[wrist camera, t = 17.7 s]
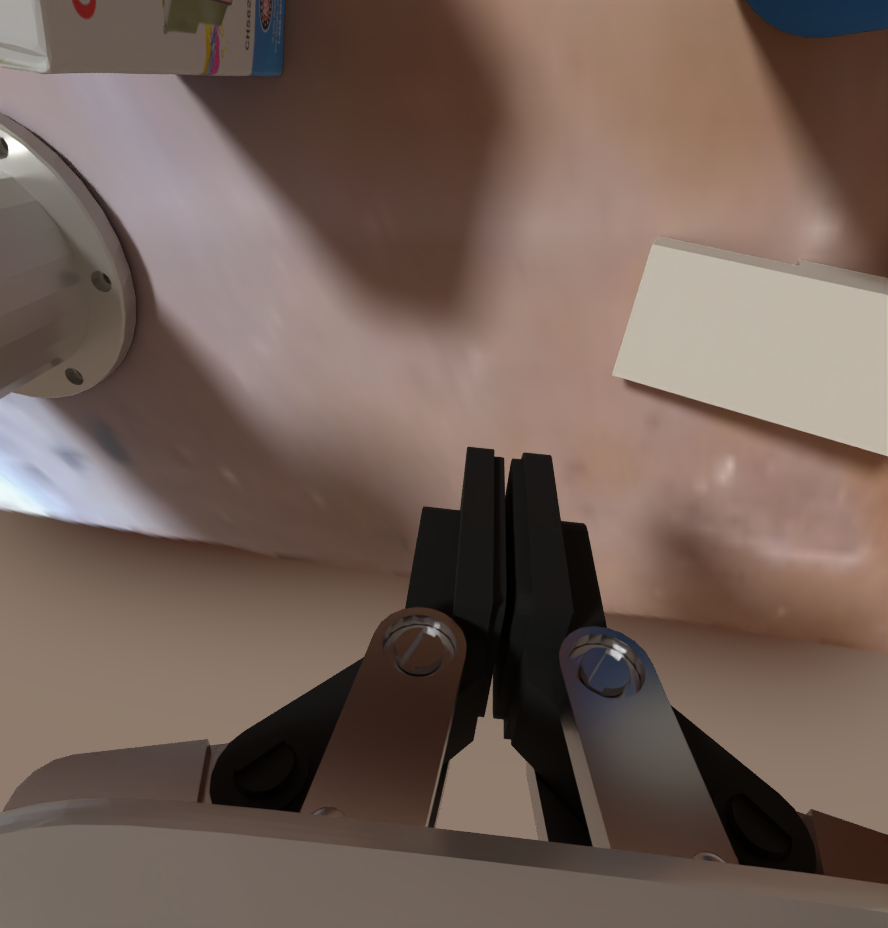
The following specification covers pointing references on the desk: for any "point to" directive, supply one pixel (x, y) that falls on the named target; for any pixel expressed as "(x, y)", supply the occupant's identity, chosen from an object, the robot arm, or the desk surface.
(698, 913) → the robot arm
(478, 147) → the desk surface
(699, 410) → the desk surface
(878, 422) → the domino
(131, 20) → the ink box
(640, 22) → the desk surface
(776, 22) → the beverage can
